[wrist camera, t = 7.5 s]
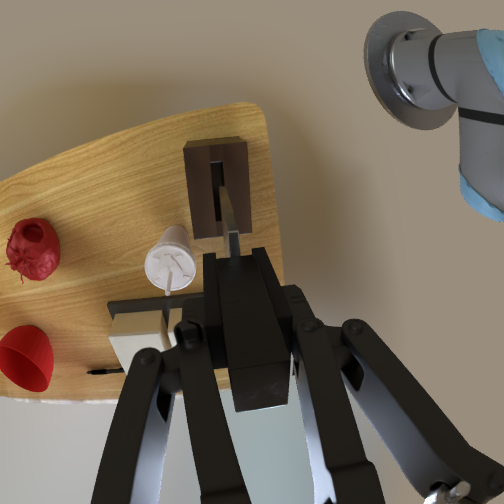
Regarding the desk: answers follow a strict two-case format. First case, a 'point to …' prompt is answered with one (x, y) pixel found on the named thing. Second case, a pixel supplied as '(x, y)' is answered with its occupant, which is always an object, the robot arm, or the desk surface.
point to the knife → (249, 326)
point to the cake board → (150, 304)
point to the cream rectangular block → (173, 323)
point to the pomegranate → (33, 249)
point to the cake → (138, 334)
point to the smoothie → (171, 260)
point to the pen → (105, 371)
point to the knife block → (217, 184)
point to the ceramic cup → (27, 358)
